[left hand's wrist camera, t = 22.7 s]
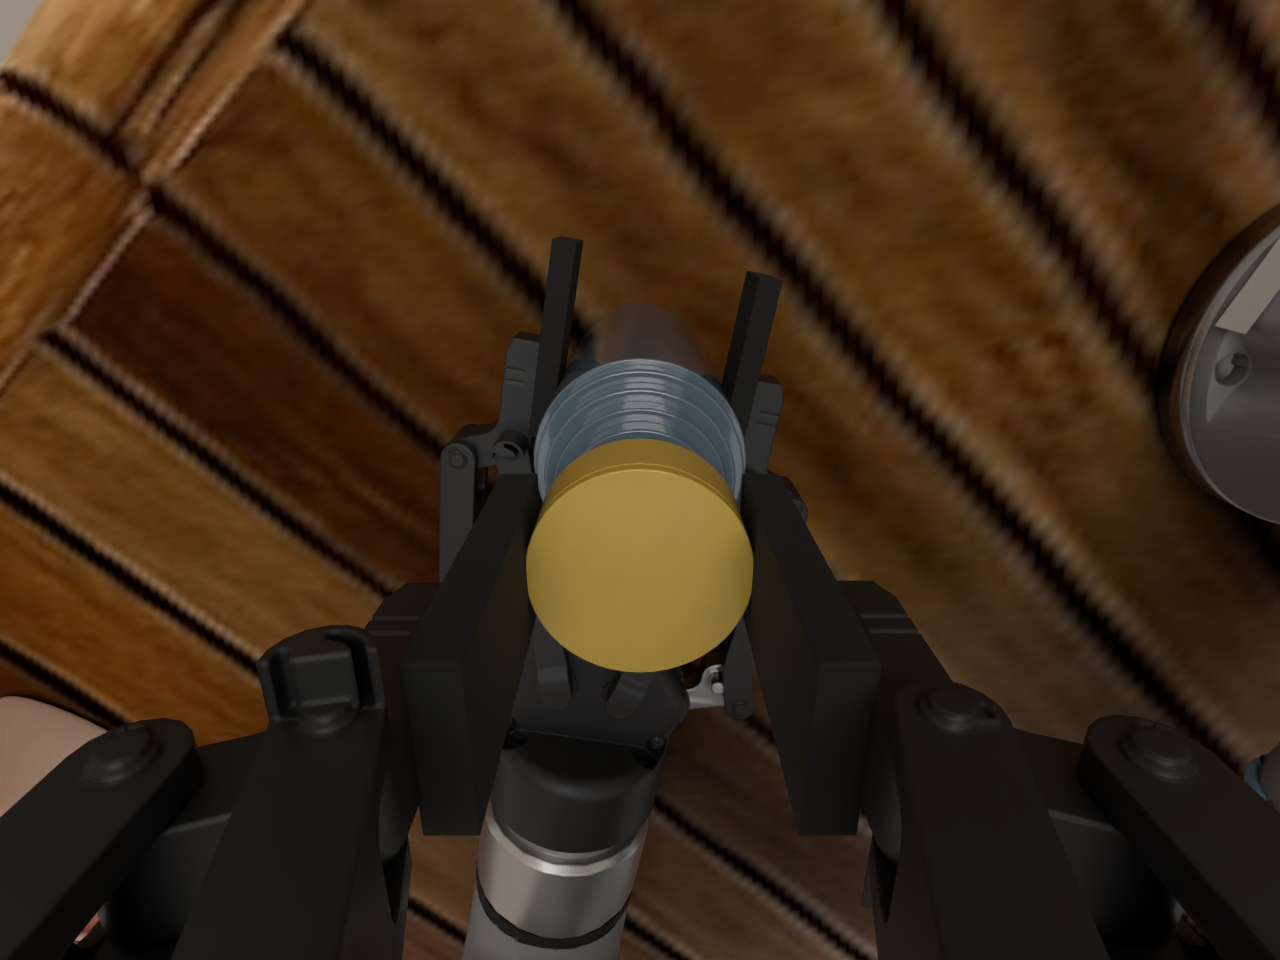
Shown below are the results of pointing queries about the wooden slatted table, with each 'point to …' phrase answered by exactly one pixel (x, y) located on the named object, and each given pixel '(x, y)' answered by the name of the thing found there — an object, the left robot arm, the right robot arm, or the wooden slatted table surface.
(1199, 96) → the wooden slatted table surface
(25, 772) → the anatomical model
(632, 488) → the cap
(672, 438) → the bottle
